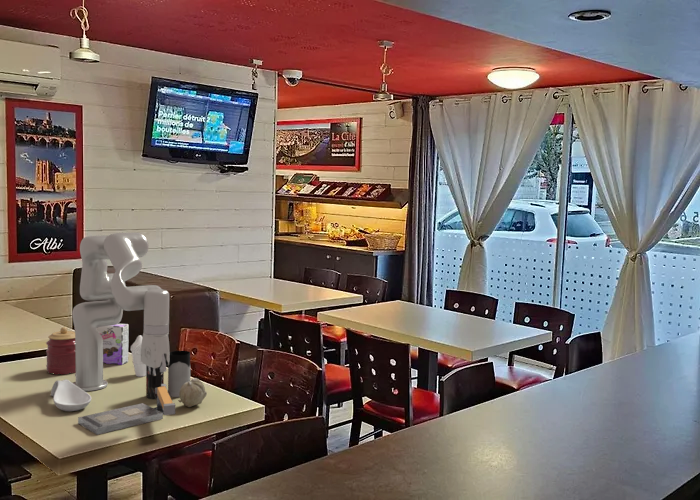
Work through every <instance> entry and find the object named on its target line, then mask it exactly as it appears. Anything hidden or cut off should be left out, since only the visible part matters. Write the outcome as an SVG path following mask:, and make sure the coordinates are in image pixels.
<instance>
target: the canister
mask: <svg viewBox="0 0 700 500" xmlns="http://www.w3.org/2000/svg"><path fill="white" fill-rule="evenodd" d="M45 344H46V345H47V349H46V351H45V352H46V372H47V373H48V372H49V373H48V374H50V373H54V374H53V375H58V374H61V375H70V374H69V373H71V374H76V352H75V331H72V330H68V329H67V327H66V326H64V327H63V326H62V327H61V328H60V329H59V331H56V332H55V331H54V332H52V333H51V334H50V335H48V340H47V341H46V342H45Z"/></svg>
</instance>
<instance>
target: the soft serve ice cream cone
mask: <svg viewBox="0 0 700 500" xmlns="http://www.w3.org/2000/svg"><path fill="white" fill-rule="evenodd" d="M142 337H143V335H141V334H140V335H139V334H138V336H136V339H135V341H134V342H133V343H132V344H131V345H130V351H131V355H132V364H133V369H134V373H135V376H136V377H141V378H142V377H146V365H145V364H143V363H142V362H141V344H142Z"/></svg>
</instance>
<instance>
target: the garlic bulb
mask: <svg viewBox="0 0 700 500" xmlns="http://www.w3.org/2000/svg"><path fill="white" fill-rule="evenodd" d="M207 393H208V392H207V391H206V388H205V386H204V384H203V382H202V381H201V380H200V379H199V378H197V377H193V378H192V379H190V381H189V382H186V383H184V384H183V385H182V387H181V389H180V392H179V396H180V397H179V399H177V402H179V403H182V404H183V405H184V406H186V407H188V408H191V407H193V406H198V405H200V404H202V402H203V400H204V399H205V398H206V397H207Z"/></svg>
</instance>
